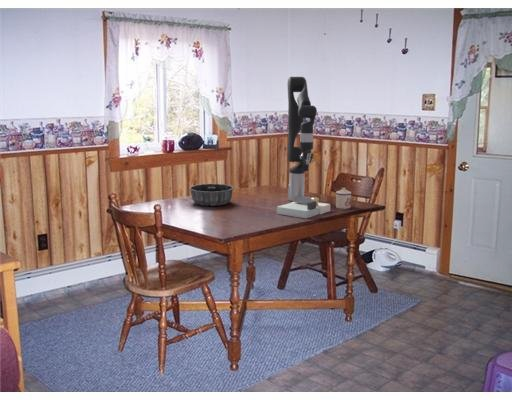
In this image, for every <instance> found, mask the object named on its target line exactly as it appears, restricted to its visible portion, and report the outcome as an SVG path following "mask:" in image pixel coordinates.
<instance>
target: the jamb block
mask: <svg viewBox="0 0 512 400" xmlns="http://www.w3.org/2000/svg"><path fill="white" fill-rule="evenodd" d="M291 203H292V204H299V205H306V206H307V204H302V203H295V201H291ZM316 207H318V215H323V214H325V213H328V212H331V204H330V203H325V202H319V201H318V205H316Z"/></svg>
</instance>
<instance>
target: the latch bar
mask: <svg viewBox="0 0 512 400" xmlns="http://www.w3.org/2000/svg"><path fill="white" fill-rule="evenodd" d="M319 199H320V198H319V197H316V196H315V197H309V196H305V195H304V196H295V201H294V202H295V203H302V204H307V203H308V202H310V201H316V205H318V202H319Z"/></svg>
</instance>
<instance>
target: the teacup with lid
mask: <svg viewBox="0 0 512 400" xmlns="http://www.w3.org/2000/svg"><path fill="white" fill-rule="evenodd" d="M351 202H352V191H349V190H348V189H346V187H341V189H340V190H336V192H335V207H336V209H341V210H347V209H348V210H349V209H350V208H351V206H352V205H351Z"/></svg>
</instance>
